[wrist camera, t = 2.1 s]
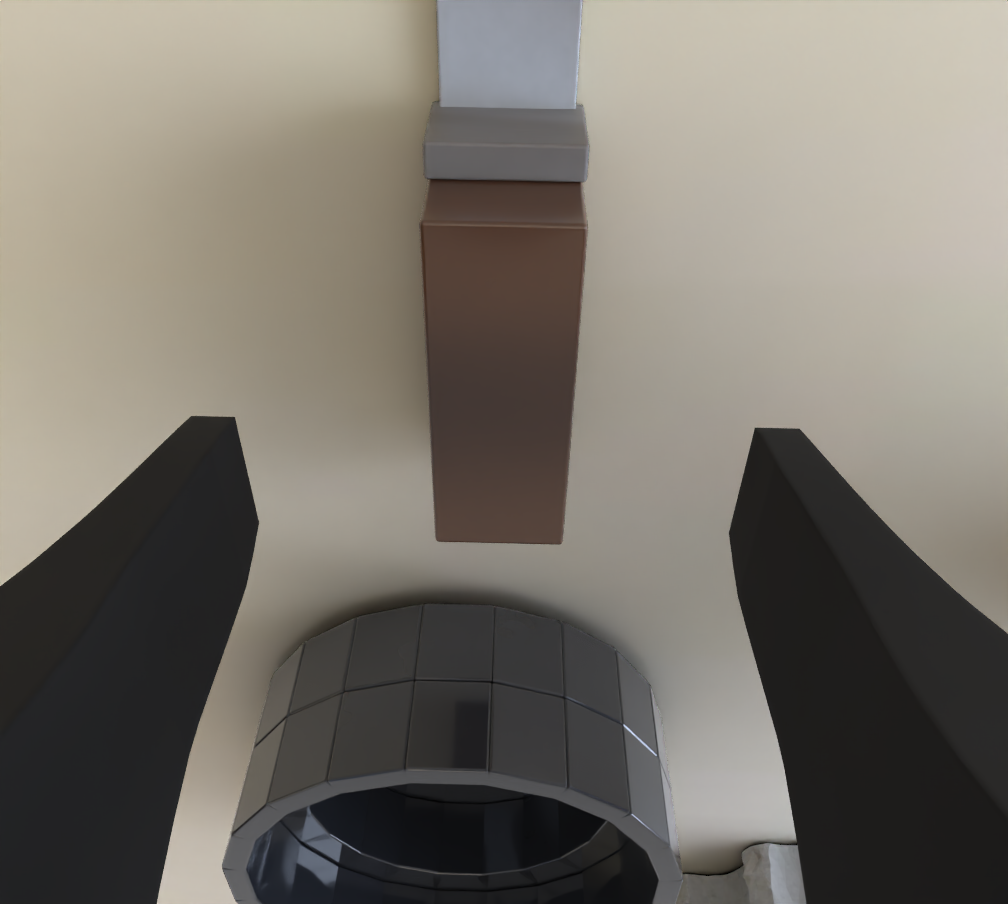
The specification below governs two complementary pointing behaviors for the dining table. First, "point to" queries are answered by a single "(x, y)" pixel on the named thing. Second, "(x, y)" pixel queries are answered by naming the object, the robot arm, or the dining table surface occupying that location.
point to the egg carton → (751, 880)
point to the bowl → (456, 769)
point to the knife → (503, 266)
